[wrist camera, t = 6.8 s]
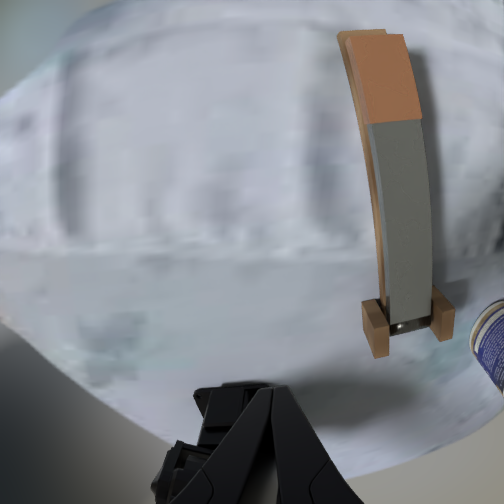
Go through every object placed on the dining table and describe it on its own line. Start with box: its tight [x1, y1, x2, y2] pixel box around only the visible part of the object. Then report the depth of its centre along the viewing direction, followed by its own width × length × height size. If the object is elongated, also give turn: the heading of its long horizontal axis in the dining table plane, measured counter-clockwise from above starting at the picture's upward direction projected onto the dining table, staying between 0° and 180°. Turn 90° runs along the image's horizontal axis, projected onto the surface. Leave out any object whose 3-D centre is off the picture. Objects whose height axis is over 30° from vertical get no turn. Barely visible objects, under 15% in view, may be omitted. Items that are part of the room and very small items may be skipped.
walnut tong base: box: [337, 29, 455, 359], centre depth 17 cm, size 20×6×4 cm, turn 12°
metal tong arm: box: [345, 34, 432, 337], centre depth 17 cm, size 19×3×1 cm, turn 13°
